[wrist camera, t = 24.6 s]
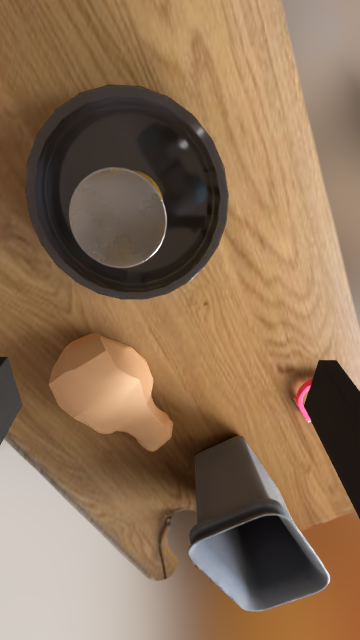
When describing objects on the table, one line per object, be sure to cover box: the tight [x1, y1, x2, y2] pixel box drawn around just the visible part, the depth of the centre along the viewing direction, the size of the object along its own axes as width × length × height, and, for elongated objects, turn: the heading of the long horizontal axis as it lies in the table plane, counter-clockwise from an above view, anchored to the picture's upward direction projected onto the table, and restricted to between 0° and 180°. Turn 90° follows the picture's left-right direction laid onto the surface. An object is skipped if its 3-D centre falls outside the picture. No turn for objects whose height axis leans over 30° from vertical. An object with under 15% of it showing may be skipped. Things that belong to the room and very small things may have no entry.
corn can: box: [69, 167, 167, 268], centre depth 27 cm, size 6×6×13 cm
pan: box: [25, 85, 229, 299], centre depth 31 cm, size 19×19×4 cm
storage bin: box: [188, 436, 330, 611], centre depth 46 cm, size 21×16×14 cm
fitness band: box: [293, 379, 313, 422], centre depth 46 cm, size 8×6×2 cm
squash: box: [49, 333, 173, 451], centre depth 39 cm, size 11×20×9 cm, turn 33°
